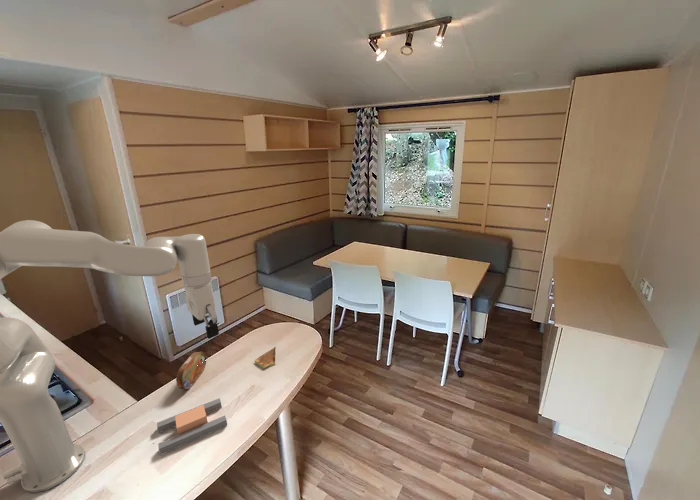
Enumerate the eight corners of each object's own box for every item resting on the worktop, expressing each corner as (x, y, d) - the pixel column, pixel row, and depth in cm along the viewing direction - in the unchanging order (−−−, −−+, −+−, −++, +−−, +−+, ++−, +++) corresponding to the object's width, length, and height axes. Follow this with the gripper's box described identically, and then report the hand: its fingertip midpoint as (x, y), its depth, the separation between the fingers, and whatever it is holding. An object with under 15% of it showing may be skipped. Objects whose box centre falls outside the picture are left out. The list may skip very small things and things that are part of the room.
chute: (160, 454, 89) (158, 449, 88) (158, 428, 97) (156, 422, 96) (227, 425, 98) (226, 419, 97) (220, 403, 106) (219, 398, 105)
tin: (186, 394, 110) (181, 374, 107) (177, 394, 110) (172, 374, 107) (208, 365, 124) (204, 347, 121) (200, 364, 124) (196, 346, 121)
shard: (275, 349, 133) (275, 345, 133) (288, 356, 129) (287, 353, 128) (254, 363, 125) (253, 359, 125) (266, 371, 121) (266, 367, 120)
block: (179, 439, 93) (176, 428, 92) (177, 427, 97) (174, 416, 96) (208, 427, 97) (206, 415, 96) (205, 415, 101) (203, 404, 100)
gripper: (172, 273, 93) (182, 323, 99) (195, 291, 82) (205, 347, 87) (198, 266, 98) (206, 314, 104) (223, 282, 87) (231, 336, 93)
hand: (206, 329), depth 96 cm, fingers open, 9 cm apart
